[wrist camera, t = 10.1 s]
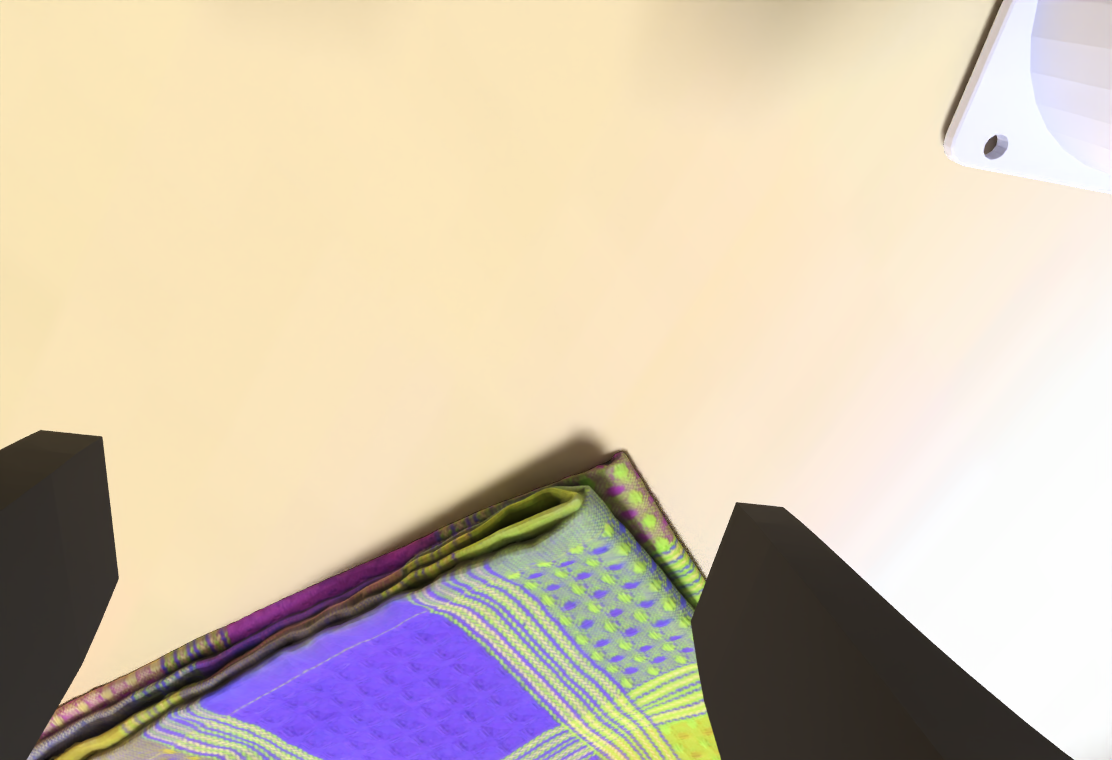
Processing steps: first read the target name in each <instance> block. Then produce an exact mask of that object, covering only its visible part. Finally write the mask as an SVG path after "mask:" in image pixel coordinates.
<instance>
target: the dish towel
mask: <svg viewBox="0 0 1112 760" xmlns="http://www.w3.org/2000/svg"><path fill="white" fill-rule="evenodd" d="M705 583H706V581H705V580H704V578H703V576H702V575H701V573H700V572H699V570H698V569H697V567H696V566H695V564H694V563H693V561H692V560H691V558H690V557H689V555H688V554H687V553H686V551H685V550H684V548H683V547H682V545H681V544H680V542H679V541H678V540H677V538H676V537H675V535H674V533H673V531H672V530H671V528H670V526H669V525H668V523H667V521H666V520H665V518H664V516H663V515H662V514H661V512H660V510H659V508H658V507H657V505H656V503H655V501H654V500H653V498H652V497H651V495H650V494H649V492H648V491H647V489H646V487H645V485H644V483H643V481H642V479H641V478H640V476H639V475H638V473H637V472H636V470H635V469H634V467H633V466H632V464H631V462H630V460H629V459H628V457H627V455H626V454H625V453H623V452H619V453H616V454H615V455H614V456H613V458H612V459H611V460H610V461H608V462H606V463H604V464H602V465H598V466H596V467H595V468H592V469H590V470H589V471H586V472H584V473H581V474H577V475H572V476H568V477H566V478H564V479H562V480H560V481H558V482H555V483H553V484H550V485H547V486H544V487H541V488H538V489H535V490H533V491H531V492H528V493H526V494H523V495H520V496H517V497H515V498H512V499H509V500H506V501H504V502H501V503H498V504H496V505H493V506H491V507H488V508H486V509H483V510H481V511H479V512H476V513H474V514H472V515H470V516H468V517H465V518H463V519H461V520H459V521H456V522H454V523H452V524H450V525H447V526H445V527H443V528H441V529H439V530H437V531H435V532H433V533H431V534H429V535H427V536H425V537H423V538H421V539H418V540H416V541H414V542H412V543H410V544H408V545H406V546H404V547H402V548H399V549H396V550H394V551H392V552H389V553H387V554H384V555H382V556H380V557H377V558H375V559H373V560H371V561H369V562H367V563H364V564H361V565H358V566H356V567H354V568H352V569H350V570H348V571H346V572H343V573H341V574H338V575H336V576H333V577H330V578H328V579H326V580H324V581H322V582H320V583H318V584H315V585H313V586H310V587H308V588H306V589H304V590H302V591H300V592H297V593H295V594H293V595H291V596H288V597H286V598H284V599H282V600H279V601H278V602H276V603H273V604H271V605H269V606H267V607H265V608H263V609H260V610H258V611H256V612H254V613H252V614H250V615H248V616H246V617H244V618H242V619H240V620H239V621H236V622H234V623H231V624H229V625H227V626H225V627H223V628H220V629H217V630H215V631H213V632H211V633H208V634H206V635H204V636H202V637H199V638H197V639H195V640H193V641H191V642H189V643H187V644H186V645H184V646H182V647H180V648H178V649H176V650H174V651H172V652H170V653H168V654H166V655H164V656H163V657H161V658H159V659H158V660H156V661H153V662H151V663H149V664H147V665H145V666H143V667H141V668H139V669H137V670H136V671H134V672H132V673H130V674H128V675H126V676H123V677H121V678H119V679H117V680H115V681H112V682H111V683H109V684H106V685H104V686H102V687H99V688H97V689H94V690H93V691H91V692H89V693H87V694H85V695H83V696H81V697H79V698H76V699H74V700H72V701H70V702H68V703H67V704H65V705H63V706H61V707H60V708H58V709H56V711H55V712H54V714H53V716H52V718H51V719H50V721H49V723H48V724H47V726H46V728H45V730H44V731H43V733H42V735H41V736H40V738H39V740H38V742H37V743H36V745H35V747H34V748H33V750H32V752H31V753H30V755H29V757H28V758H27V760H721V758H720V754H719V751H718V748H717V744H716V741H715V738H714V734H713V731H712V727H711V724H710V721H709V717H708V714H707V710H706V707H705V703H704V699H703V694H702V688H701V683H700V677H699V672H698V667H697V660H696V654H695V647H694V641H693V634H692V628H691V619H692V616H693V614H694V611H695V609H696V606H697V603H698V601H699V598H700V596H701V593H702V590H703V588H704V585H705Z"/></svg>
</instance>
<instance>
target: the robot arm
mask: <svg viewBox="0 0 1112 760" xmlns="http://www.w3.org/2000/svg"><path fill="white" fill-rule="evenodd" d="M994 135H997V138H998V139H997V144H996V146H995V147H994V149H993V150H992V151H991V152H989V153H988V154H986V155H985V154H984V152H983V151H984V146H985V144H986V143H987V141H988V140H989V139H990V138H991V137H993V136H994ZM943 145H944V152H945V154H946V156H947V157H948V158H949V159H950V160H952V161H954V162H956V163H959V164H961V165H963V166H968V167H973V168H978V169H983V170H989V171H994V172H999V173H1004V174H1009V175H1015V176H1020V177H1025V178H1030V179H1036V180H1041V181H1046V182H1051V183H1057V184H1062V185H1067V186H1072V187H1078V188H1083V189H1088V190H1093V191H1098V192H1104V193H1109V194H1112V0H1003V2H1002V4H1001V6H1000V9H999V11H998V14H997V16H996V18H995V21H994V23H993V25H992V28H991V30H990V32H989V35H988V37H987V39H986V42H985V44H984V46H983V49H982V51H981V53H980V56H979V58H978V60H977V63H976V65H975V67H974V70H973V72H972V75H971V77H970V79H969V82H968V84H967V86H966V89H965V91H964V93H963V96H962V98H961V100H960V103H959V105H958V107H957V110H956V112H955V114H954V117H953V119H952V121H951V124H950V126H949V128H948V131H947V133H946V136H945V140H944V144H943ZM118 579H119V576H118V567H117V559H116V550H115V542H114V533H113V525H112V516H111V507H110V499H109V490H108V482H107V473H106V464H105V456H104V447H103V439H102V437H101V436H92V435H82V434H72V433H63V432H53V431H43V430H40V431H38V432H36V433H33V434H31V435H29V436H27V437H25V438H23V439H21V440H19V441H17V442H15V443H13V444H11V445H9V446H7V447H5V448H3V449H1V450H0V760H27V758H28V757H29V755H30V753H31V752H32V750H33V748H34V747H35V745H36V743H37V742H38V740H39V738H40V736H41V735H42V733H43V731H44V730H45V728H46V726H47V724H48V723H49V721H50V719H51V718H52V716H53V714H54V712H55V711H56V709H57V707H58V705H59V704H60V702H61V700H62V699H63V697H64V695H65V693H66V692H67V690H68V688H69V687H70V685H71V683H72V681H73V679H74V678H75V676H76V674H77V672H78V671H79V669H80V667H81V665H82V663H83V661H84V659H85V657H86V654H87V652H88V650H89V648H90V645H91V643H92V641H93V639H94V636H95V634H96V632H97V630H98V627H99V625H100V623H101V620H102V618H103V615H104V613H105V611H106V608H107V606H108V603H109V601H110V599H111V596H112V594H113V591H114V589H115V586H116V584H117V582H118ZM691 628H692V634H693V641H694V647H695V654H696V660H697V667H698V672H699V677H700V683H701V688H702V694H703V699H704V703H705V707H706V710H707V714H708V717H709V721H710V724H711V727H712V731H713V734H714V738H715V741H716V744H717V748H718V751H719V754H720V758H721V760H1074V759H1072V758H1071V757H1070V756H1068V755H1067V754H1066V753H1064V752H1063V751H1062V750H1060V749H1059V748H1058V747H1056V746H1055V745H1054V744H1053V743H1051V742H1050V741H1049V740H1048V739H1046V738H1045V737H1044V736H1043V735H1041V734H1040V733H1039V732H1038V731H1036V730H1035V729H1034V728H1032V727H1031V726H1030V725H1029V724H1028V723H1026V722H1025V721H1024V720H1023V719H1021V718H1020V717H1019V716H1018V715H1017V714H1015V713H1014V712H1013V711H1012V710H1011V709H1009V708H1008V707H1007V706H1006V705H1005V704H1003V703H1002V702H1001V701H1000V700H999V699H997V698H996V697H995V696H994V695H993V694H992V693H990V692H989V691H988V690H987V689H986V688H984V687H983V686H982V685H981V684H980V683H978V682H977V681H976V680H975V679H974V678H972V677H971V676H970V675H969V674H968V673H966V672H965V671H964V670H963V669H962V668H961V667H960V666H959V665H957V664H956V663H955V662H954V661H953V660H952V659H951V658H949V657H948V656H947V655H946V654H945V653H944V652H943V651H941V650H940V649H939V648H938V647H937V646H936V645H935V644H933V643H932V642H931V641H930V640H929V639H928V638H927V637H926V636H925V635H923V634H922V633H921V632H920V631H919V630H918V629H917V628H916V627H915V626H913V625H912V624H911V623H910V622H909V621H908V620H907V619H906V618H905V617H904V616H903V615H901V614H900V613H899V612H898V611H897V610H896V609H895V608H894V607H893V606H892V605H891V604H889V603H888V602H887V601H886V600H885V599H884V598H883V597H882V596H881V595H880V594H879V593H878V592H876V591H875V590H874V589H873V588H872V587H871V586H870V585H869V584H868V583H867V582H866V581H865V580H864V579H863V578H861V577H860V576H859V575H858V574H857V573H856V572H855V571H854V570H853V569H852V568H851V567H850V566H849V565H848V564H846V563H845V562H844V561H843V560H842V559H841V558H840V557H839V556H838V555H837V554H836V553H835V552H834V551H832V550H831V549H830V548H829V547H828V546H827V545H826V544H825V543H824V542H823V541H822V540H820V539H819V538H818V537H817V536H816V535H815V534H814V533H813V532H812V531H811V530H809V529H808V528H807V527H806V526H805V525H804V524H803V523H801V522H800V521H799V520H798V519H797V518H796V517H794V516H793V515H792V514H791V513H789V512H788V511H787V510H786V509H785V508H783V507H777V506H767V505H757V504H748V503H738V502H736V504H735V507H734V510H733V512H732V515H731V517H730V520H729V523H728V525H727V528H726V530H725V533H724V536H723V538H722V541H721V544H720V546H719V549H718V551H717V554H716V557H715V559H714V562H713V564H712V567H711V570H710V572H709V575H708V577H707V580H706V583H705V585H704V588H703V590H702V593H701V596H700V598H699V601H698V603H697V606H696V609H695V611H694V614H693V616H692V619H691Z"/></svg>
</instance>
